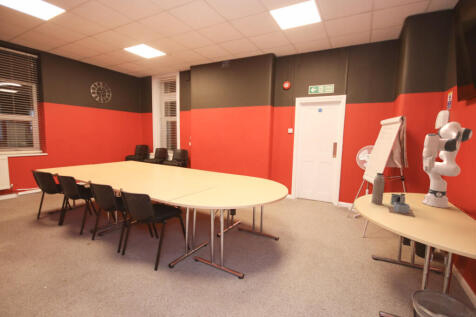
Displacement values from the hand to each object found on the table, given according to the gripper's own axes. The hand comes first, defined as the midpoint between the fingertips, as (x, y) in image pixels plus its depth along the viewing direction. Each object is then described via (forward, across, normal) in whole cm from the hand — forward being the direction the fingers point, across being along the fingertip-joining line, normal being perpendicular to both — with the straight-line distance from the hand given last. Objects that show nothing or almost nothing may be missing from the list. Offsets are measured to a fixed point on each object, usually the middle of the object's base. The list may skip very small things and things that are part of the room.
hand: (427, 172), depth 175 cm
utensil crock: (+32, -12, +15) cm, 37 cm away
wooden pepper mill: (+33, +2, +31) cm, 46 cm away
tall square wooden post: (+31, -12, +15) cm, 36 cm away
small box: (+33, +5, +16) cm, 37 cm away
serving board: (+33, -12, +15) cm, 38 cm away
